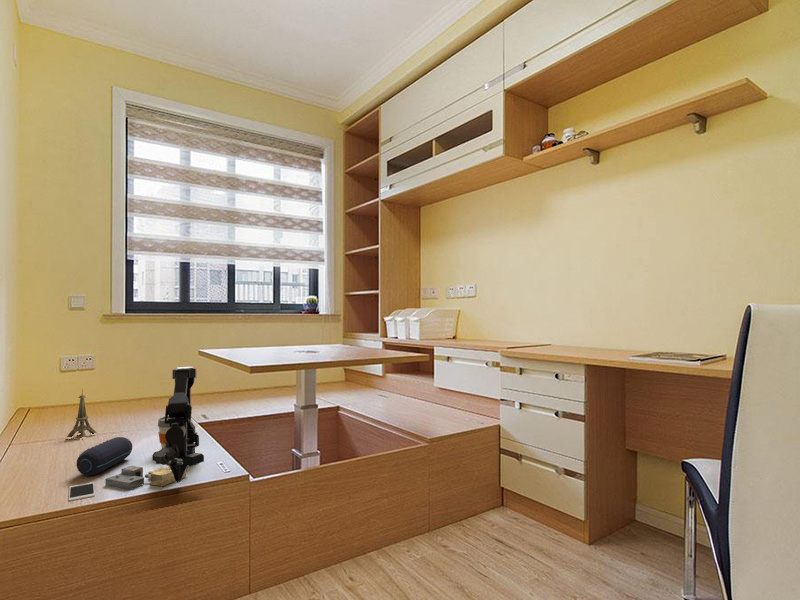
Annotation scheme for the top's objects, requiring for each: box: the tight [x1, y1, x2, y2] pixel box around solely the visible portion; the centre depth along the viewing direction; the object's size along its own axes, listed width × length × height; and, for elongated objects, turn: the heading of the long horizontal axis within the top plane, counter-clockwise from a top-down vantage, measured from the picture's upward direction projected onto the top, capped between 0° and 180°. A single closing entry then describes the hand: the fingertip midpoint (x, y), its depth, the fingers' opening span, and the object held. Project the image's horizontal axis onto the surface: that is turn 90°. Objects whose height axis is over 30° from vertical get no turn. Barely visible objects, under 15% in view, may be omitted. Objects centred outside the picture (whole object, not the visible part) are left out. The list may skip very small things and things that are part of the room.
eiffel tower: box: [66, 389, 98, 438], centre depth 235 cm, size 11×11×25 cm
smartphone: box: [68, 481, 96, 502], centre depth 159 cm, size 7×15×1 cm, turn 34°
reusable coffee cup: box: [157, 415, 169, 449], centre depth 205 cm, size 13×13×15 cm
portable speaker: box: [76, 436, 133, 477], centre depth 185 cm, size 25×10×10 cm, turn 1°
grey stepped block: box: [104, 465, 145, 491], centre depth 167 cm, size 10×12×4 cm
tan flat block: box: [144, 466, 187, 487], centre depth 170 cm, size 10×12×4 cm
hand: (178, 481), depth 163 cm, fingers closed
